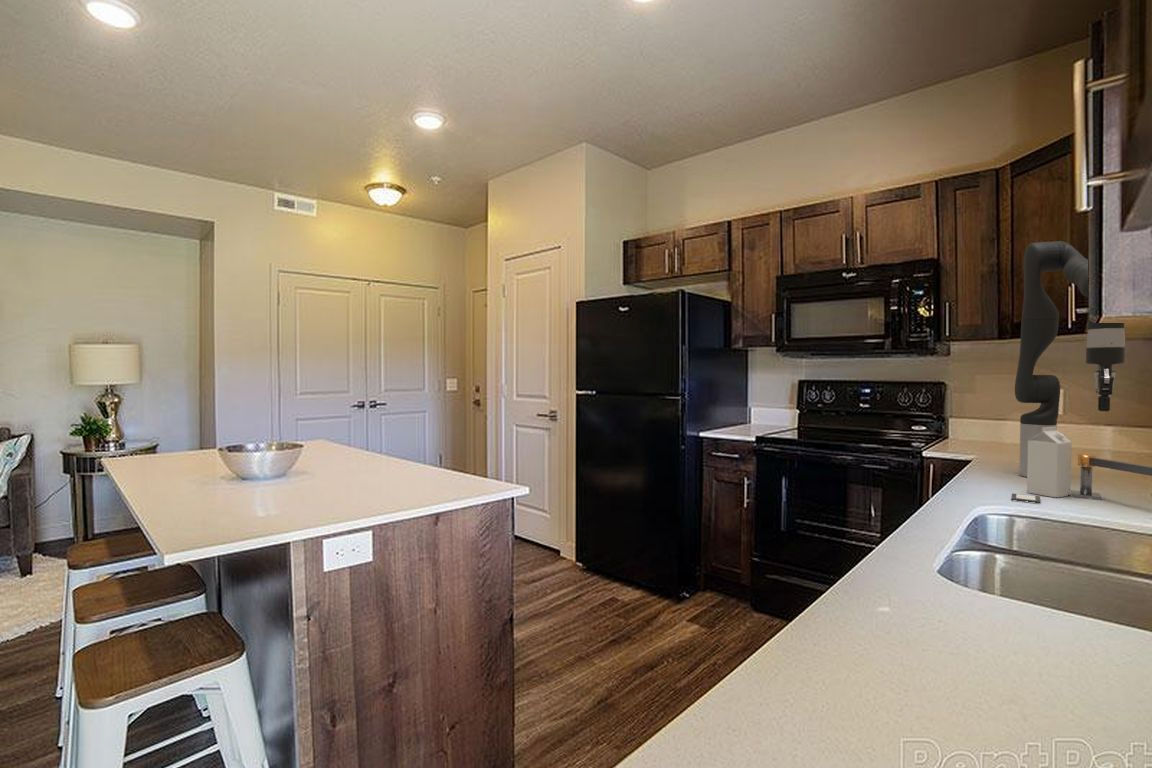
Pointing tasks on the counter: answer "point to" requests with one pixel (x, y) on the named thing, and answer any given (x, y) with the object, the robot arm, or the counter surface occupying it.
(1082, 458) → the swing arm
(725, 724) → the counter surface
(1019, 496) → the label plate
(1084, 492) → the pivot post
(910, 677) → the counter surface
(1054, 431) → the milk carton
